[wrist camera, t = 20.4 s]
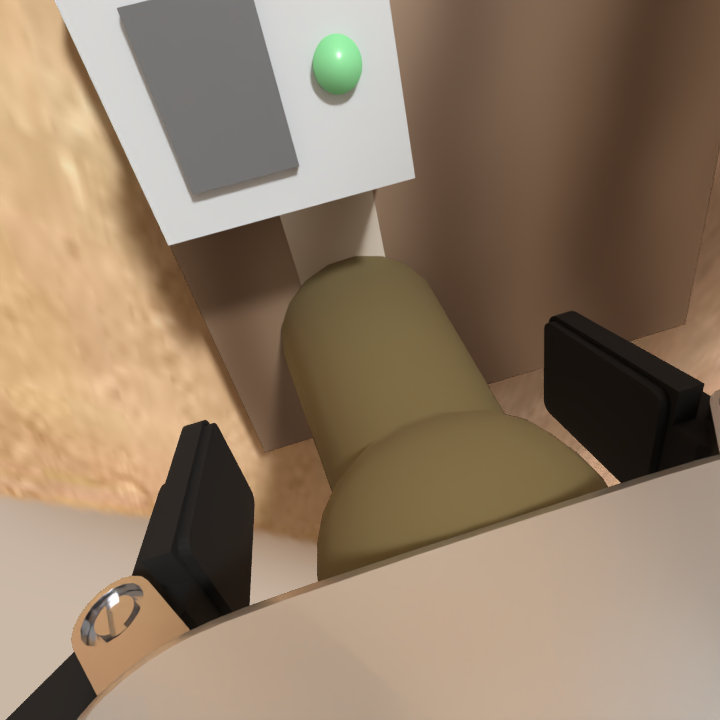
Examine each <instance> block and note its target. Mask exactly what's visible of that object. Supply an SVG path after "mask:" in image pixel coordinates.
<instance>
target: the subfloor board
mask: <svg viewBox="0 0 720 720" xmlns="http://www.w3.org/2000/svg"><path fill="white" fill-rule="evenodd" d="M389 2H390V9H391V15H392V22H393V29H394V36H395V43H396V50H397V57H398V64H399V70H400V77H401V84H402V91H403V98H404V105H405V112H406V118H407V125H408V132H409V139H410V146H411V153H412V160H413V166H414V173H415V178H413V179H410V180H406V181H403V182H399V183H395V184H392V185H388V186H384V187H381V188H377V189H373V190H370V191H366V192H362V193H359V194H355V195H351V196H348V197H344V198H341V199H337V200H333V201H330V202H326V203H322V204H319V205H315V206H311V207H308V208H304V209H300V210H297V211H293V212H289V213H286V214H282V215H279V216H275V217H271V218H268V219H264V220H260V221H257V222H253V223H249V224H246V225H242V226H238V227H235V228H231V229H227V230H224V231H220V232H217V233H213V234H209V235H206V236H202V237H198V238H195V239H191V240H187V241H184V242H180V243H176V244H173V245H170V247H171V250H172V252H173V254H174V256H175V258H176V260H177V263H178V265H179V267H180V269H181V271H182V273H183V276H184V278H185V280H186V282H187V284H188V286H189V289H190V291H191V293H192V295H193V297H194V299H195V301H196V304H197V306H198V308H199V310H200V312H201V314H202V317H203V319H204V321H205V323H206V325H207V327H208V330H209V332H210V334H211V336H212V338H213V340H214V343H215V345H216V347H217V349H218V351H219V353H220V356H221V358H222V360H223V362H224V364H225V366H226V368H227V371H228V373H229V375H230V377H231V379H232V381H233V384H234V386H235V388H236V390H237V392H238V394H239V397H240V399H241V401H242V403H243V405H244V407H245V410H246V412H247V414H248V416H249V418H250V420H251V423H252V425H253V427H254V429H255V431H256V433H257V435H258V438H259V440H260V442H261V444H262V446H263V448H264V451H265V452H268V451H271V450H275V449H278V448H281V447H284V446H288V445H291V444H294V443H298V442H301V441H304V440H307V439H311V438H313V436H312V433H311V430H310V427H309V425H308V422H307V419H306V416H305V413H304V410H303V408H302V405H301V402H300V399H299V396H298V393H297V390H296V388H295V385H294V382H293V379H292V376H291V373H290V371H289V368H288V365H287V362H286V359H285V356H284V353H283V346H282V325H283V322H284V318H285V315H286V312H287V309H288V306H289V303H290V301H291V300H292V299H293V297H294V296H295V294H296V293H297V292H298V290H299V289H300V288H301V286H302V285H303V284H304V282H305V281H306V280H307V279H309V278H310V277H312V276H313V275H314V274H316V273H317V272H319V271H320V270H321V269H323V268H324V267H326V266H327V265H329V264H332V263H335V262H338V261H341V260H344V259H347V258H351V257H354V256H384V257H386V258H389V259H392V260H395V261H398V262H401V263H404V264H406V265H408V266H409V267H411V268H412V269H413V270H414V271H415V272H417V273H418V274H419V275H420V276H422V277H423V278H424V279H425V280H426V281H427V283H428V284H429V286H430V288H431V289H432V291H433V293H434V294H435V296H436V298H437V300H438V301H439V303H440V305H441V306H442V308H443V310H444V311H445V313H446V315H447V317H448V318H449V320H450V322H451V323H452V325H453V327H454V328H455V330H456V332H457V334H458V335H459V337H460V339H461V340H462V342H463V344H464V345H465V347H466V349H467V351H468V352H469V354H470V356H471V357H472V359H473V361H474V362H475V364H476V366H477V368H478V369H479V371H480V373H481V374H482V376H483V378H484V379H485V381H486V383H487V384H491V383H494V382H497V381H500V380H504V379H507V378H510V377H514V376H517V375H520V374H523V373H527V372H530V371H533V370H536V369H540V368H543V367H544V326H545V324H547V323H549V319H550V318H551V317H552V316H555V315H558V314H562V313H565V312H568V311H575V312H577V313H579V314H581V315H583V316H584V317H586V318H588V319H590V320H591V321H593V322H595V323H597V324H599V325H600V326H602V327H604V328H606V329H608V330H609V331H611V332H613V333H615V334H616V335H618V336H620V337H622V338H624V339H625V340H627V341H631V340H635V339H638V338H641V337H644V336H648V335H651V334H654V333H658V332H661V331H664V330H667V329H671V328H674V327H677V326H680V325H684V324H685V322H686V317H687V311H688V306H689V301H690V296H691V291H692V286H693V281H694V276H695V271H696V265H697V260H698V255H699V250H700V245H701V240H702V235H703V230H704V225H705V219H706V214H707V209H708V204H709V199H710V194H711V189H712V184H713V179H714V174H715V168H716V163H717V158H718V153H719V148H720V0H389Z"/></svg>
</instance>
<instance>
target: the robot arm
mask: <svg viewBox="0 0 720 720" xmlns="http://www.w3.org/2000/svg"><path fill="white" fill-rule="evenodd" d="M703 387H704V383H702V382H700V381H699V380H697V379H695V378H693V377H691V376H690V375H688V374H686V373H684V372H683V371H681V370H679V369H677V368H675V367H674V366H672V365H670V364H668V363H666V362H665V361H663V360H661V359H659V358H658V357H656V356H654V355H652V354H650V353H649V352H647V351H645V350H643V349H641V348H640V347H638V346H636V345H634V344H633V343H631V342H629V341H627V340H625V339H624V338H622V337H620V336H618V335H616V334H615V333H613V332H611V331H609V330H608V329H606V328H604V327H602V326H600V325H599V324H597V323H595V322H593V321H591V320H590V319H588V318H586V317H584V316H583V315H581V314H579V313H577V312H575V311H568V312H565V313H562V314H558V315H555V316H552V317H551V318H550V319H549V323H547V324H545V326H544V403H545V406H546V409H547V410H548V412H549V413H550V414H551V415H552V416H553V417H554V418H555V419H556V420H557V421H558V422H559V423H560V424H561V425H562V426H563V427H564V428H565V429H567V430H568V431H569V432H570V433H571V434H572V435H573V436H574V437H575V438H576V439H577V440H578V441H579V442H580V443H581V444H582V445H583V446H584V447H585V448H586V449H587V450H588V451H589V452H590V453H591V454H592V455H593V456H594V457H595V458H596V459H597V460H598V461H599V462H600V463H601V464H602V465H603V466H604V467H605V468H606V469H607V470H608V471H609V472H610V473H611V474H613V475H614V476H615V477H616V478H617V479H618V480H619V481H620V482H621V483H620V484H617V485H614V486H611V487H608V488H604V489H601V490H598V491H595V492H592V493H589V494H586V495H582V496H579V497H576V498H573V499H570V500H567V501H564V502H560V503H557V504H554V505H551V506H548V507H545V508H542V509H539V510H535V511H532V512H529V513H526V514H523V515H520V516H517V517H514V518H511V519H508V520H505V521H502V522H499V523H495V524H492V525H489V526H486V527H483V528H480V529H477V530H474V531H471V532H468V533H465V534H462V535H458V536H455V537H452V538H449V539H446V540H443V541H440V542H437V543H434V544H431V545H428V546H425V547H422V548H419V549H416V550H413V551H410V552H406V553H403V554H400V555H397V556H394V557H391V558H388V559H385V560H382V561H379V562H376V563H373V564H370V565H367V566H364V567H361V568H358V569H355V570H352V571H349V572H346V573H343V574H340V575H337V576H334V577H331V578H328V579H325V580H322V581H319V582H316V583H313V584H310V585H307V586H305V587H302V588H299V589H296V590H293V591H290V592H287V593H284V594H282V595H279V596H276V597H273V598H270V599H268V600H264V601H262V602H259V603H256V604H253V605H250V606H249V604H250V603H249V602H250V583H251V564H252V544H253V524H254V497H253V494H252V491H251V489H250V487H249V485H248V483H247V481H246V479H245V477H244V475H243V474H242V472H241V470H240V468H239V466H238V464H237V462H236V460H235V458H234V456H233V454H232V452H231V450H230V449H229V447H228V445H227V443H226V441H225V439H224V437H223V435H222V433H221V431H220V429H219V427H218V426H217V424H216V423H212V424H210V423H209V422H208V421H206V420H204V421H200V422H197V423H194V424H190V425H187V426H184V427H183V429H182V432H181V435H180V438H179V441H178V444H177V448H176V451H175V454H174V457H173V460H172V464H171V467H170V470H169V473H168V476H167V479H166V483H165V484H164V485H162V487H161V489H160V491H159V494H158V497H157V500H156V503H155V506H154V509H153V512H152V515H151V518H150V521H149V524H148V527H147V531H146V534H145V537H144V540H143V543H142V546H141V549H140V552H139V555H138V558H137V561H136V564H135V568H134V571H133V574H132V576H129V577H125V578H122V579H120V580H118V581H116V582H114V583H112V584H110V585H109V586H107V587H106V588H105V589H103V590H102V591H100V592H99V593H98V594H97V595H96V596H95V597H94V598H93V599H92V600H91V601H90V602H89V603H88V604H87V606H86V607H85V609H84V610H83V611H82V613H81V614H80V616H79V617H78V619H77V622H76V624H75V626H74V628H73V633H72V638H71V641H72V646H73V650H74V653H73V654H72V655H71V656H70V657H69V658H68V659H67V660H66V661H64V663H63V664H62V665H61V666H59V667H58V668H57V669H56V670H55V671H54V672H53V673H52V675H51V676H49V677H48V678H47V679H46V680H45V681H44V682H43V683H42V684H41V685H40V686H39V687H38V688H37V689H36V690H35V691H34V692H33V693H32V694H31V695H30V696H29V697H28V698H27V699H26V700H25V701H24V702H23V703H22V704H21V705H20V706H19V707H18V708H17V709H16V710H15V711H14V712H13V713H12V714H11V715H10V716H9V717H8V718H7V719H6V720H720V390H717V391H715V392H714V393H713V394H712V395H711V396H709V395H708V394H706V393H704V392H703Z"/></svg>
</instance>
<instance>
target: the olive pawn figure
mask: <svg viewBox="0 0 720 720" xmlns="http://www.w3.org/2000/svg"><path fill="white" fill-rule="evenodd" d="M282 346H283V353H284V356H285V359H286V362H287V365H288V368H289V371H290V373H291V376H292V379H293V382H294V385H295V388H296V390H297V393H298V396H299V399H300V402H301V405H302V408H303V410H304V413H305V416H306V419H307V422H308V425H309V427H310V430H311V433H312V436H313V439H314V442H315V445H316V447H317V450H318V453H319V456H320V459H321V462H322V464H323V467H324V470H325V473H326V476H327V479H328V482H329V484H330V487H331V490H332V495H331V497H330V499H329V501H328V503H327V506H326V508H325V510H324V512H323V515H322V521H321V526H320V532H319V537H318V543H317V552H318V553H317V576H318V582H319V581H322V580H325V579H328V578H331V577H334V576H337V575H340V574H343V573H346V572H349V571H352V570H355V569H358V568H361V567H364V566H367V565H370V564H373V563H376V562H379V561H382V560H385V559H388V558H391V557H394V556H397V555H400V554H403V553H406V552H410V551H413V550H416V549H419V548H422V547H425V546H428V545H431V544H434V543H437V542H440V541H443V540H446V539H449V538H452V537H455V536H458V535H462V534H465V533H468V532H471V531H474V530H477V529H480V528H483V527H486V526H489V525H492V524H495V523H499V522H502V521H505V520H508V519H511V518H514V517H517V516H520V515H523V514H526V513H529V512H532V511H535V510H539V509H542V508H545V507H548V506H551V505H554V504H557V503H560V502H564V501H567V500H570V499H573V498H576V497H579V496H582V495H586V494H589V493H592V492H595V491H598V490H601V489H604V488H608V486H607V484H606V483H605V481H604V479H603V478H602V477H601V476H600V475H599V474H598V473H597V472H596V471H595V470H594V469H593V468H592V467H591V466H590V465H589V464H588V463H587V462H586V461H585V460H584V459H583V458H582V457H581V456H580V455H579V454H578V453H577V452H575V451H574V450H572V449H571V448H570V447H568V446H567V445H566V444H564V443H563V442H561V441H560V440H559V439H557V438H556V437H554V436H553V435H552V434H550V433H548V432H547V431H545V430H543V429H542V428H540V427H538V426H536V425H535V424H533V423H531V422H529V421H528V420H526V419H523V418H519V417H515V416H511V415H506V414H505V413H504V412H503V410H502V408H501V407H500V405H499V403H498V402H497V400H496V398H495V396H494V395H493V393H492V391H491V390H490V388H489V386H488V385H487V383H486V381H485V379H484V378H483V376H482V374H481V373H480V371H479V369H478V368H477V366H476V364H475V362H474V361H473V359H472V357H471V356H470V354H469V352H468V351H467V349H466V347H465V345H464V344H463V342H462V340H461V339H460V337H459V335H458V334H457V332H456V330H455V328H454V327H453V325H452V323H451V322H450V320H449V318H448V317H447V315H446V313H445V311H444V310H443V308H442V306H441V305H440V303H439V301H438V300H437V298H436V296H435V294H434V293H433V291H432V289H431V288H430V286H429V284H428V283H427V281H426V280H425V279H424V278H423V277H422V276H420V275H419V274H418V273H417V272H415V271H414V270H413V269H412V268H411V267H409V266H408V265H406V264H404V263H401V262H398V261H395V260H392V259H389V258H386V257H384V256H354V257H351V258H347V259H344V260H341V261H338V262H335V263H332V264H329V265H327V266H326V267H324V268H323V269H321V270H320V271H319V272H317V273H316V274H314V275H313V276H312V277H310V278H309V279H307V280H306V281H305V282H304V284H303V285H302V286H301V288H300V289H299V290H298V292H297V293H296V294H295V296H294V297H293V299H292V300H291V301H290V303H289V306H288V309H287V312H286V315H285V318H284V322H283V325H282Z"/></svg>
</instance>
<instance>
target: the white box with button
mask: <svg viewBox="0 0 720 720" xmlns="http://www.w3.org/2000/svg"><path fill="white" fill-rule="evenodd" d="M55 3H56V5H57V7H58V9H59V11H60V13H61V16H62V18H63V20H64V22H65V24H66V26H67V28H68V31H69V33H70V35H71V37H72V39H73V41H74V44H75V46H76V48H77V50H78V52H79V54H80V56H81V59H82V61H83V63H84V65H85V67H86V69H87V72H88V74H89V76H90V78H91V80H92V82H93V84H94V87H95V89H96V91H97V93H98V95H99V97H100V100H101V102H102V104H103V106H104V108H105V110H106V112H107V115H108V117H109V119H110V121H111V123H112V125H113V128H114V130H115V132H116V134H117V136H118V138H119V140H120V143H121V145H122V147H123V149H124V151H125V153H126V156H127V158H128V160H129V162H130V164H131V166H132V168H133V171H134V173H135V175H136V177H137V179H138V181H139V184H140V186H141V188H142V190H143V192H144V194H145V196H146V199H147V201H148V203H149V205H150V207H151V209H152V212H153V214H154V216H155V218H156V220H157V222H158V224H159V227H160V229H161V231H162V233H163V235H164V237H165V240H166V242H167V244H168V246H169V245H173V244H176V243H180V242H184V241H187V240H191V239H195V238H198V237H202V236H206V235H209V234H213V233H217V232H220V231H224V230H227V229H231V228H235V227H238V226H242V225H246V224H249V223H253V222H257V221H260V220H264V219H268V218H271V217H275V216H279V215H282V214H286V213H289V212H293V211H297V210H300V209H304V208H308V207H311V206H315V205H319V204H322V203H326V202H330V201H333V200H337V199H341V198H344V197H348V196H351V195H355V194H359V193H362V192H366V191H370V190H373V189H377V188H381V187H384V186H388V185H392V184H395V183H399V182H403V181H406V180H410V179H413V178H415V173H414V166H413V160H412V153H411V146H410V139H409V132H408V125H407V118H406V112H405V105H404V98H403V91H402V84H401V77H400V70H399V64H398V57H397V50H396V43H395V36H394V29H393V22H392V15H391V9H390V2H389V0H55Z"/></svg>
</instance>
